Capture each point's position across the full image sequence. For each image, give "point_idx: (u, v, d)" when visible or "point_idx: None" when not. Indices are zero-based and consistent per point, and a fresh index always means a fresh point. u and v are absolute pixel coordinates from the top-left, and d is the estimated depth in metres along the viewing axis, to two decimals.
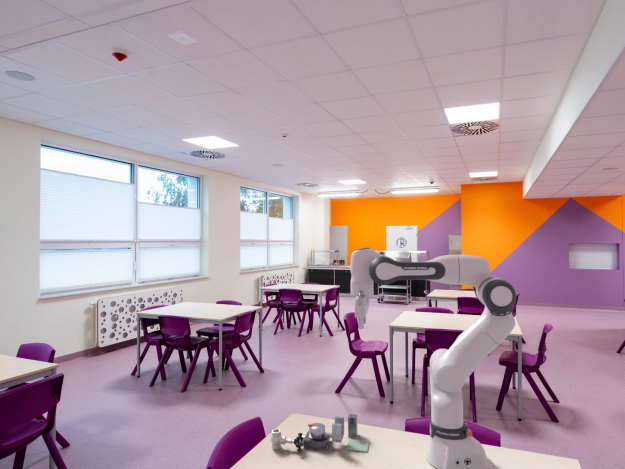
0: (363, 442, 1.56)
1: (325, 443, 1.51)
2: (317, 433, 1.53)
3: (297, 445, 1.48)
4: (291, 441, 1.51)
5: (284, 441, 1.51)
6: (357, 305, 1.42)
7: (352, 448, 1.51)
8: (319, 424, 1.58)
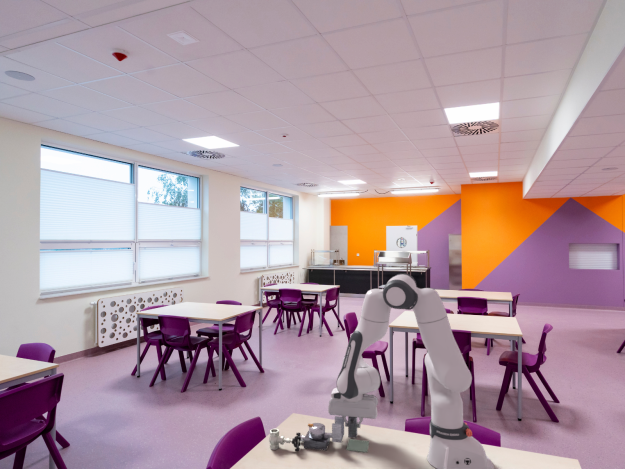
0: (363, 442, 1.56)
1: (325, 443, 1.51)
2: (317, 433, 1.53)
3: (295, 445, 1.48)
4: (289, 441, 1.51)
5: (282, 441, 1.51)
6: (376, 406, 1.60)
7: (352, 448, 1.51)
8: (319, 424, 1.58)
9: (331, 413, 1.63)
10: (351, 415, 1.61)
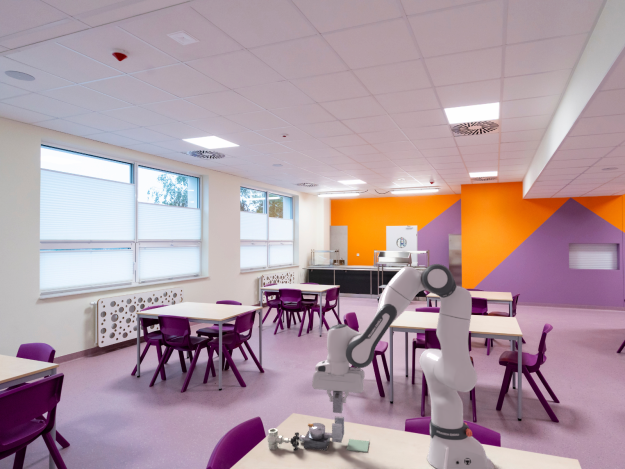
0: (363, 442, 1.56)
1: (325, 443, 1.51)
2: (317, 433, 1.53)
3: (294, 444, 1.48)
4: (288, 440, 1.52)
5: (281, 440, 1.52)
6: (362, 380, 1.52)
7: (352, 448, 1.51)
8: (319, 424, 1.58)
9: (315, 387, 1.54)
10: (336, 389, 1.53)
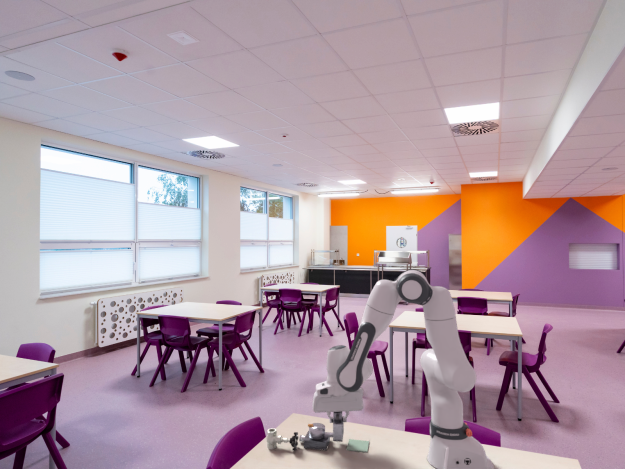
0: (363, 442, 1.56)
1: (325, 443, 1.51)
2: (318, 433, 1.53)
3: (293, 444, 1.49)
4: (287, 440, 1.52)
5: (280, 440, 1.52)
6: None
7: (352, 448, 1.51)
8: (319, 424, 1.58)
9: (316, 411, 1.53)
10: (337, 410, 1.54)
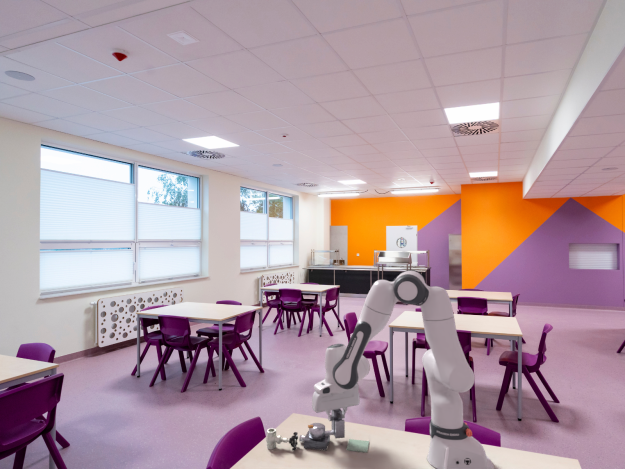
0: (363, 442, 1.56)
1: (325, 443, 1.51)
2: (320, 433, 1.53)
3: (292, 444, 1.49)
4: (286, 440, 1.52)
5: (279, 440, 1.52)
6: None
7: (352, 448, 1.51)
8: (317, 424, 1.58)
9: (318, 411, 1.54)
10: (337, 407, 1.57)
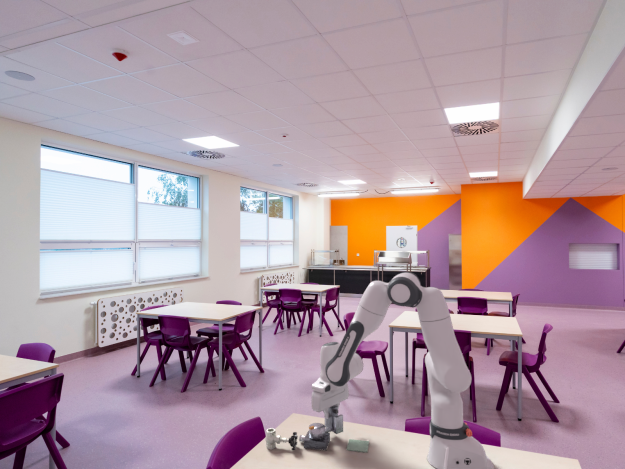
0: (363, 442, 1.56)
1: (325, 443, 1.51)
2: (323, 432, 1.54)
3: (292, 444, 1.49)
4: (286, 440, 1.52)
5: (279, 440, 1.52)
6: None
7: (352, 448, 1.51)
8: (315, 424, 1.58)
9: (320, 410, 1.54)
10: (333, 404, 1.60)
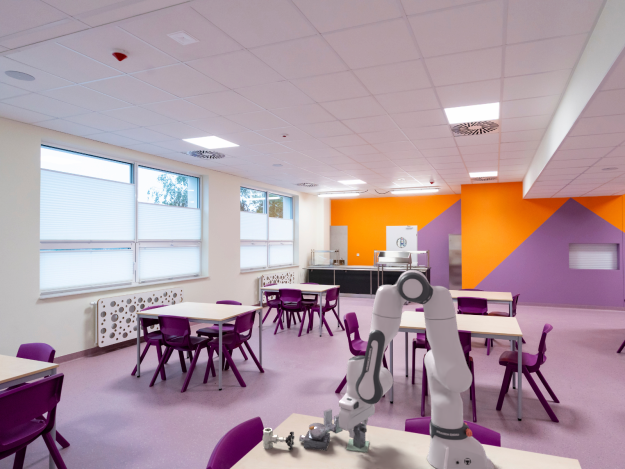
0: None
1: (325, 443, 1.51)
2: (323, 432, 1.54)
3: (289, 444, 1.49)
4: (283, 440, 1.52)
5: (276, 440, 1.52)
6: None
7: (352, 448, 1.51)
8: (315, 424, 1.58)
9: (348, 428, 1.47)
10: (361, 421, 1.53)
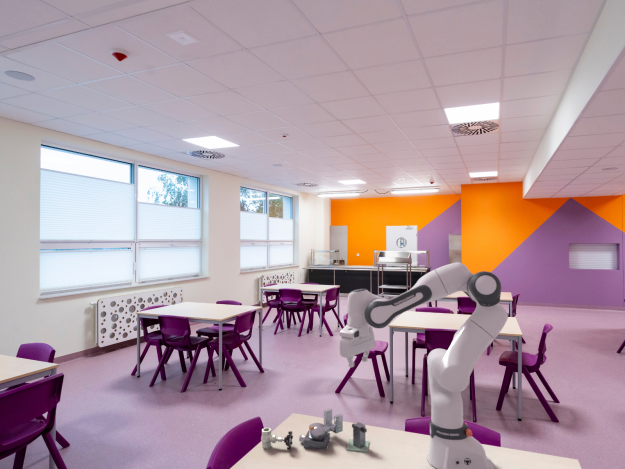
0: None
1: (325, 443, 1.51)
2: (323, 432, 1.54)
3: (287, 443, 1.49)
4: (281, 439, 1.52)
5: (274, 440, 1.52)
6: None
7: (352, 448, 1.51)
8: (315, 424, 1.58)
9: (349, 355, 1.50)
10: (361, 351, 1.56)
